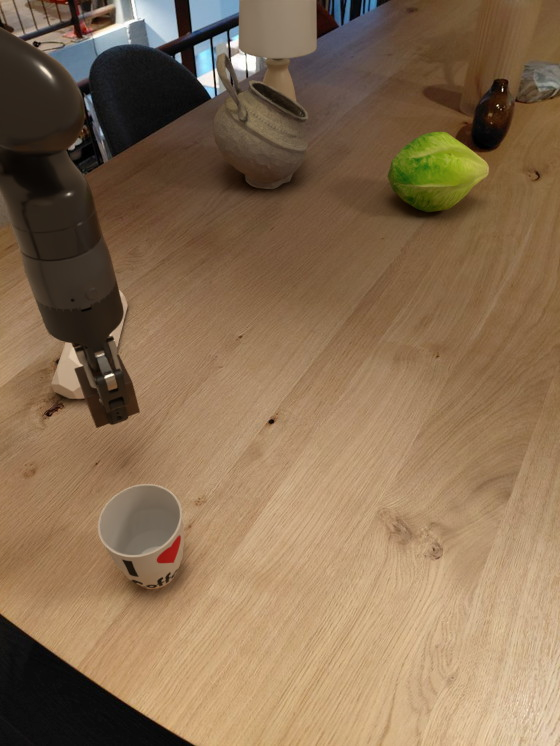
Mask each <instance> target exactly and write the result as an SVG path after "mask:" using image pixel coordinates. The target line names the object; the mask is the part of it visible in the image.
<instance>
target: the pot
mask: <svg viewBox="0 0 560 746" xmlns="http://www.w3.org/2000/svg"><path fill="white" fill-rule="evenodd" d="M232 63H233V62H231V59H230V58H229V56H228V55H227V54H226V52H222V53H221V54H218V55H217V57H216V63H215V68H216V73H217V75H218V77H219V79H220V81H221V84H222V85H223V87H224V89H226V91H227V93H228V94H229V96H227V97H225V98H224V100H223V103H222V104H221V105H220V106H219V108H218V109H217V111H216V113H215V115H214V119H213V125H212V131H213V139H214V142H215V145H216V146H217V149H218V150H219V152H220V154H221V156H222V157H223V159H224V160H225V161H226V163H228V164H229V165H230V166H232V168H234V169H235V170H236V171H238V172H240V173H241V174H243V175H244V179H245V182H246V183H247V184H249V185H250V186H251V187H254V188H256V189H267V190H274V189H276V188H279V187H280V186H281V185H283V184H286V183H290V182H291V180H292V177H293V175H294V173H295V172H296V171H298V169H299V168H300V166H302V164H303V162H304V160H305V157H306V151H307V150H308V147H309V145H308V142H307V140H306V138H305V128H304V127H305V125H304V123H305V122H306V121H308V120H309V114H308V112H307V111H306V109H305V108H303V106H302V105H301V104H300V103H298V101H297V100H296V101H295V100H293V99H291V98H289V97H288V96H286V95H284V94H283V93H281V92H280V91H278V90H277V89H275V88H273V87H272V86H267V85H266V84H265V83H263V81H260V80H253V79H252V80H249V81H248V83H247V85H248V88H247V89H245V91H242V88H241V87H240V83H239V80H238V77H237V74H236V71H235V68H234V65H233V64H232ZM227 71H228V73H229V74H230V77H231V80H232V82H233V85H234V88H233V85H232V83H231V80H230V79H229V77H228V73H227ZM234 89H235V90H234Z"/></svg>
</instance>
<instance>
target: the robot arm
mask: <svg viewBox="0 0 560 746" xmlns="http://www.w3.org/2000/svg"><path fill="white" fill-rule="evenodd" d="M85 121H86V107H85V102H84V97H83V95H82V91H81V89H80V87H79V85H78V83H77V82H76V80H75V78H74V77H73V75H72V74H71V73H70V71H69V70H68V69H67V68H66V67H65V66H64V65H63V64H62V63H61V62H60V61H58V60H57V59H56V58H54V57H53V56H51V55H50V54H48V53H47V52H45V51H43V50H41V49H40V48H38V47H36V46H35V45H33V44H31V43H29V42H28V41H25V40H24V39H22V38H20V37H18V36H17V35H15V34H13V33H12V32H10V31H8V30H6V29H4V28H3V27H1V26H0V197H1V198H2V202H3V204H4V208H5V211H6V215H7V219H8V221H9V224H10V227H11V229H12V232H13V235H14V238H15V240H16V243H17V246H18V248H19V252H20V255H21V259H22V264H23V269H24V273H25V275H26V278H27V281H28V284H29V286H30V289H31V293H32V295H33V297H34V300H35V302H36V305H37V308H38V310H39V314H40V317H41V319H42V321H43V324H44V327H45V329H46V331H47V332H48V334H49V335H51V337H52V338H54V339H56V340H58V341H60V342H64V343H66V342H68V343H71V344H72V346H73V348H74V350H75V353H76V355H77V358H78V360H79V362H80V364H82V365H83V367H84V370H85V373H86V376H87V379H88V381H89V383H90V385H91V387H92V388H96V389H97V392H98V395H99V397H100V398H99V401H100V403H102V407H103V410H105V413H106V416H107V419H108V422H109V424H108V425H111V426H114V425H118V424H120V423H122V422H125V421H127V420H128V419H129V417H130V416H128V412H127V408H126V406H127V405H129V398H128V396H127V391H126V386H125V382H124V377H123V376H124V373H123V371H122V369H121V366H120V363H119V360H118V357H117V354H118V352H119V349H118V346H116V343H115V340H114V337H113V336H110V334H111V333H112V332H113V331H114V330H115V329H116V328H117V327H118V326H119V324H120V323H121V321H122V319H123V315H124V310H123V305H122V301H121V297H120V293H119V290H120V289H119V284H118V281H117V276H116V271H115V269H114V264H113V259H112V256H111V253H110V250H109V247H108V244H107V242H106V240H105V237H104V234H103V231H102V227H101V223H100V219H99V214H98V211H97V205H96V203H95V198H94V194H93V192H92V189H91V187H90V184H89V182H88V180H87V179H86V177H85V176H84V175H85V174H83V173H82V171H81V169H79V168H78V166H77V165H76V164H75V163H74V161H73V160H72V158H71V157H70V155H69V153H68V151H67V150H68V149H69V148H71V147H72V146H73V145H74V144H75V143H76V142H77V140H78V139H79V138H80V135H81V134H82V132H83V129H84V126H85V125H84V124H85ZM112 362H113V365H114V368H113V370H112V369H111V366H112ZM89 366H90V367H89ZM90 368H91V370H92V372H101V374H100V375H97V376H94V375H92V373H91V370H90Z"/></svg>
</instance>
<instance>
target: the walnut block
mask: <svg viewBox="0 0 560 746" xmlns="http://www.w3.org/2000/svg"><path fill="white" fill-rule="evenodd" d="M117 357H118V360H119V363H120V366H121V369H122V371H123V373H124V376H123V377H124V382H125V386H126V391H127V396H128V398H129V405H127V406H126V408H127V412H128V416H129V417H132V416H134V415H136V414H140V412H141V411H140V406H139V403H138V399H137V395H136V391H135V386H134V384H133V380H132V378H131V376H130V374H129V372H128V370H127V369H126V366H125V364H124V362H123V360H122V358H121V355H120V354H119V353H117ZM89 367H90V366H89ZM113 368H114V365H113V362H112V366H111V369H112V370H113ZM74 370H75V372H76V375H77V378H78V381H79V384H80V387H81V390H82V392H83V395H84V398H83V399H84V400H85V403H86V405H87V408H88V411H89V413H90V416H91V418H92V421H93V423H94V425H95V428H96V429H98V428H101V427H105V426H107V425H110V424H109V422H108V419H107V416H106V413H105V410H103V407H102V403H100V401H99V398H100V397H99V395H98V392H97V389H96V388H92V387H91V385H90V383H89V381H88V379H87V376H86V373H85V370H84V367H83V366H81V367H78V368H75V369H74ZM90 370H91V368H90ZM91 373H92V375H94V376H97V375H100V374H101V372H92V370H91Z"/></svg>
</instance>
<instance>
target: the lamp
mask: <svg viewBox="0 0 560 746" xmlns="http://www.w3.org/2000/svg"><path fill="white" fill-rule="evenodd" d="M238 1H239V2H238V49H239V51H240V52H242V53H243V54H246V55H248V56H253V57H256V58H261V59H263V58H264V59H265V61H264V63H265V65H266V66H267V69H266V71H265V73H264V76H263V79H262V82H263V83H265V84H266V85H267V86H272V87H273V88H275V89H277V90H278V91H280V92H281V93H283V94H284V95H286V96H288V97H289V98H291V99H293V100H295V101H296V102H297V96H296V91H295V86H294V82H293V79H292V76H291V73H290V71H289V68H288V67H289V65H290V64H291V60H290V59H294V58H300V57H301V58H302V57H304V56H308V55H311V54H313V53H315V52H316V51H317V48H318V29H317V28H318V26H317V25H318V23H317V17H318V16H317V0H238Z"/></svg>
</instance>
